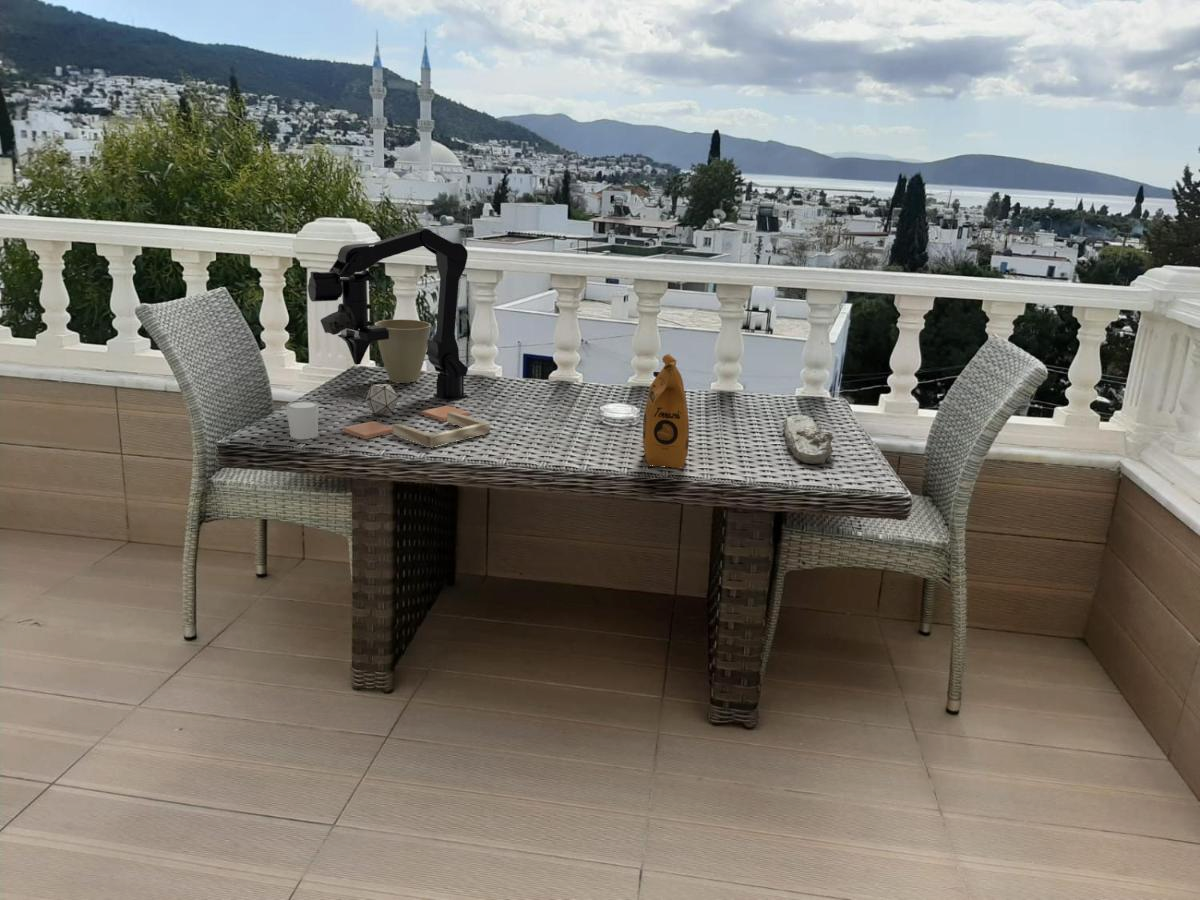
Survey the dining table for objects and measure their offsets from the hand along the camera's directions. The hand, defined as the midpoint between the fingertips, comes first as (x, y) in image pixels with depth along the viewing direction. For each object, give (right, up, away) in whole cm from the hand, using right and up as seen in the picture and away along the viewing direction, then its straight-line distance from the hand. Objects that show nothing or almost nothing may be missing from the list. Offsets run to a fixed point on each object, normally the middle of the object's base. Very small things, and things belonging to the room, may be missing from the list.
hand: (357, 364), depth 218 cm
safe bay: (+23, -17, -16) cm, 33 cm away
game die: (+7, -13, -2) cm, 15 cm away
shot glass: (-6, -18, -21) cm, 28 cm away
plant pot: (+4, -2, +32) cm, 32 cm away
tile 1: (+7, -17, -17) cm, 25 cm away
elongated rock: (+107, -20, -9) cm, 109 cm away
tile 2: (+21, -12, -1) cm, 25 cm away
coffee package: (+73, -23, -26) cm, 81 cm away
